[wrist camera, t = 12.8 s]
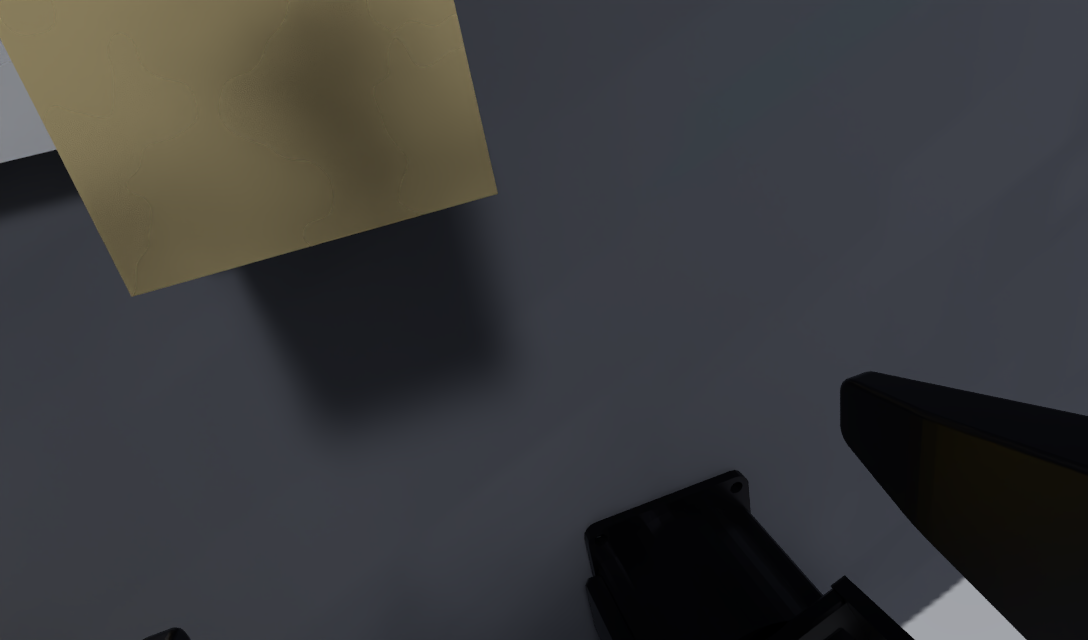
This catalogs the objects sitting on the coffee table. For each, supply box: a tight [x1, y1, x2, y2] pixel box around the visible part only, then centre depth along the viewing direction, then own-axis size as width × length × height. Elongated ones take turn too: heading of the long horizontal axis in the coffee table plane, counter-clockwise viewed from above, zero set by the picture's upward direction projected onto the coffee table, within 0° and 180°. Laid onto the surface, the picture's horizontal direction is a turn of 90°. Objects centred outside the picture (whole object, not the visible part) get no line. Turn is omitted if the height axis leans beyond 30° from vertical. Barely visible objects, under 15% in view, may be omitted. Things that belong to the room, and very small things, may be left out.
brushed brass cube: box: [0, 0, 498, 296], centre depth 13 cm, size 6×6×6 cm
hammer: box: [0, 39, 57, 163], centre depth 14 cm, size 17×7×4 cm, turn 102°
